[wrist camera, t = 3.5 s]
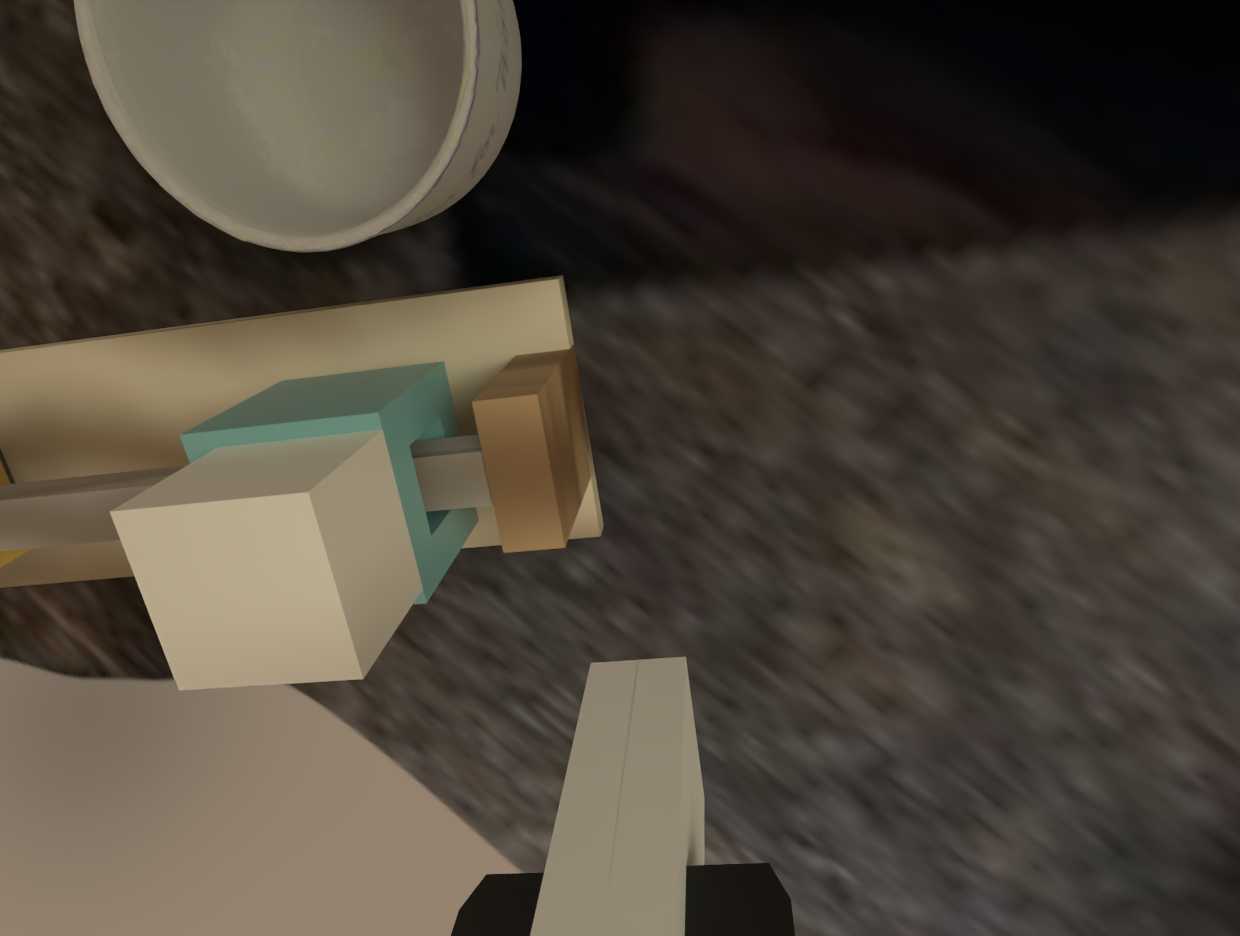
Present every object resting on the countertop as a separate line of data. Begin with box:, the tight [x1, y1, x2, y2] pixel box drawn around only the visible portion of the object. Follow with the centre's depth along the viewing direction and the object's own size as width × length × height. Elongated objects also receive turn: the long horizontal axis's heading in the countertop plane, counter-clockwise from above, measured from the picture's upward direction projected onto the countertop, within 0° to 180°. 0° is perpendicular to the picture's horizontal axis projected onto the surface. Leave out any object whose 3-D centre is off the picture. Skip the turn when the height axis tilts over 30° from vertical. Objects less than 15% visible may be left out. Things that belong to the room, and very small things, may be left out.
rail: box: [0, 275, 604, 588], centre depth 29 cm, size 10×28×8 cm, turn 98°
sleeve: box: [110, 361, 479, 690], centre depth 25 cm, size 6×6×10 cm
